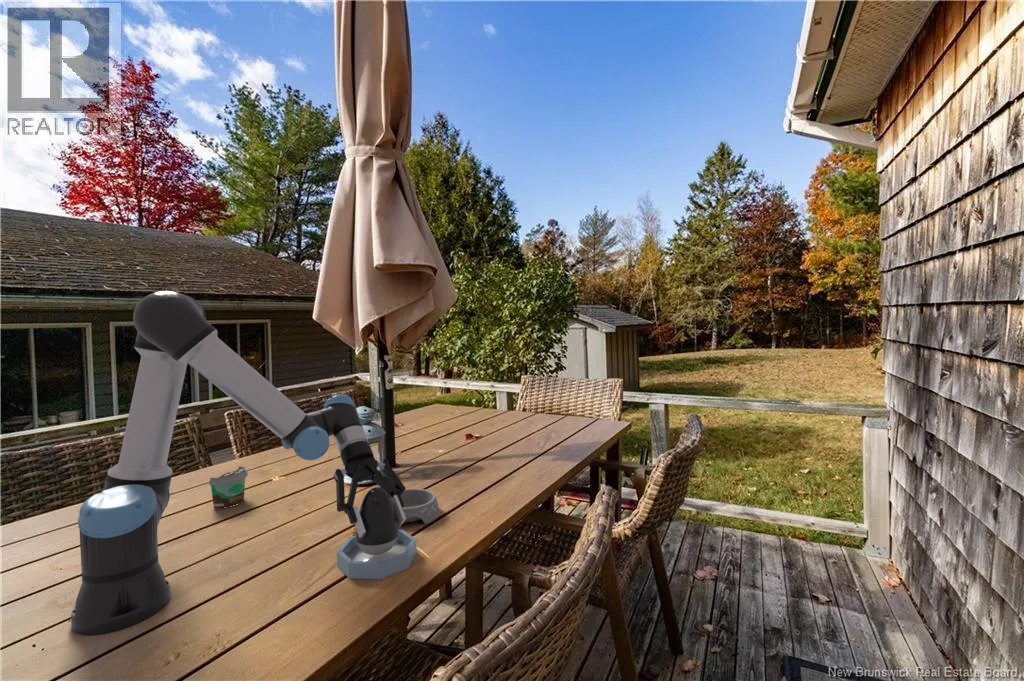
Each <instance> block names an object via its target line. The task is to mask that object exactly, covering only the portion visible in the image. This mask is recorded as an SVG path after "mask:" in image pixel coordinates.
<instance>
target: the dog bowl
mask: <svg viewBox="0 0 1024 681" xmlns="http://www.w3.org/2000/svg"><path fill="white" fill-rule="evenodd" d="M400 496H401V498H402V501H403V504H404V507H403V508H402V509H403V512H404V515H405V517H406V520H405V521H404V523H410V522H411V523H412V522H416V521H420V520H422V522H423V523H424V524H425V525H427V524H429V523H431V522H434V521H435V520H436V519H438V517H439V516H440V515H441V510H440V508H439V504H438V499H437V498H438V497H437V495H436V493H434V492H432V491H431V490H428V489H423V488H405V490H404V492H403V493H402V495H400ZM390 497H391V496H390ZM391 499H392V497H391ZM398 524H399V522H398ZM402 525H403V524H401V525H399V529H400V528H402Z"/></svg>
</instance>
